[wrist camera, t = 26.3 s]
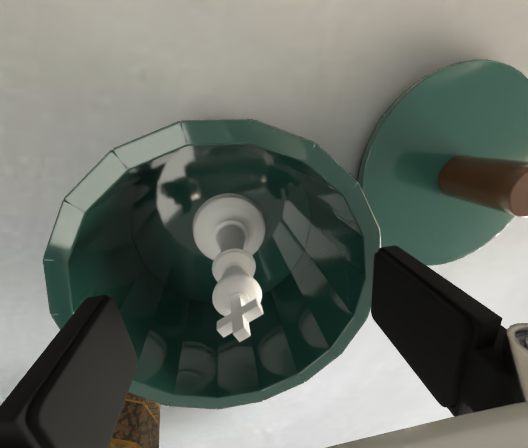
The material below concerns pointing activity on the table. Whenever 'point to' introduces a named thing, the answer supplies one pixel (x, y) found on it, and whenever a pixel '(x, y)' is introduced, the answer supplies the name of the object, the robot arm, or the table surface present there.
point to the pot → (200, 266)
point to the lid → (450, 161)
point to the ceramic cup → (137, 424)
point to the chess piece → (232, 258)
